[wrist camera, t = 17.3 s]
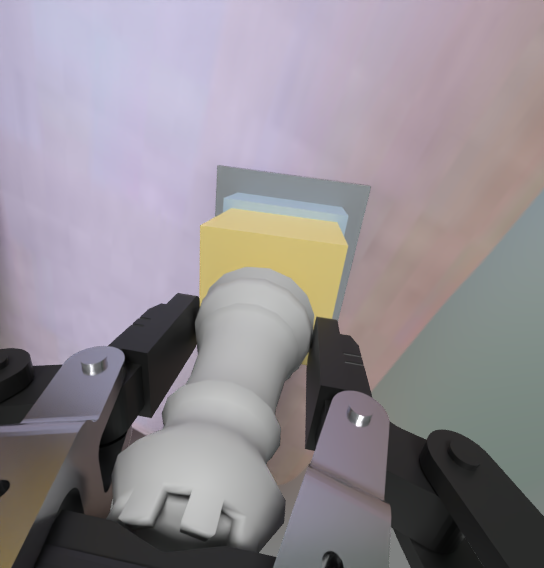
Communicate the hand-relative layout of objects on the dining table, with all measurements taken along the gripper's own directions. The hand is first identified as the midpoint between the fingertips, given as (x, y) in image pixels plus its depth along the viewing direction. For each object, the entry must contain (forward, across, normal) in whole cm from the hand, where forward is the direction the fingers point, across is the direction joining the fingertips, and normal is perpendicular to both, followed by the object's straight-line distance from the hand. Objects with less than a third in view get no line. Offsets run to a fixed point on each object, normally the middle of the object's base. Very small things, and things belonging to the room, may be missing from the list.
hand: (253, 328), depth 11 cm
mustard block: (+7, 0, 0) cm, 7 cm away
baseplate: (+11, 0, 0) cm, 11 cm away
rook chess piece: (+1, 0, 0) cm, 1 cm away
